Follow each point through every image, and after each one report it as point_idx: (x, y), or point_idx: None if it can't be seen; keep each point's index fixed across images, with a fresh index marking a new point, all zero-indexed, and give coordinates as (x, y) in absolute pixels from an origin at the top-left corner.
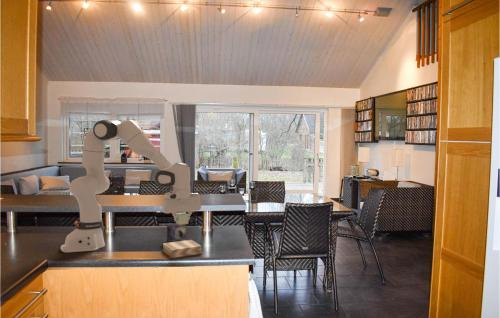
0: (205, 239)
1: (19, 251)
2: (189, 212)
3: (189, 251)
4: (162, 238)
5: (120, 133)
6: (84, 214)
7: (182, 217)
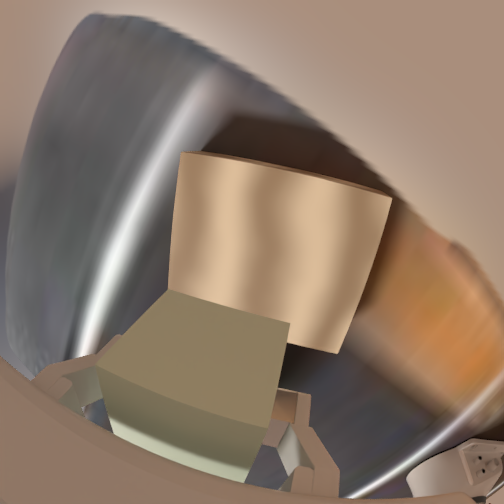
0: (97, 328)
1: None
2: (66, 389)
3: (269, 164)
4: None
5: None
6: None
7: (215, 373)
